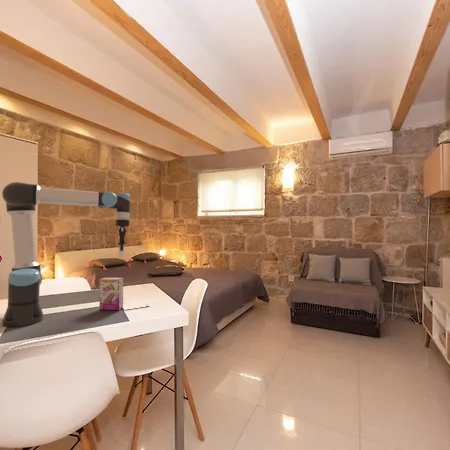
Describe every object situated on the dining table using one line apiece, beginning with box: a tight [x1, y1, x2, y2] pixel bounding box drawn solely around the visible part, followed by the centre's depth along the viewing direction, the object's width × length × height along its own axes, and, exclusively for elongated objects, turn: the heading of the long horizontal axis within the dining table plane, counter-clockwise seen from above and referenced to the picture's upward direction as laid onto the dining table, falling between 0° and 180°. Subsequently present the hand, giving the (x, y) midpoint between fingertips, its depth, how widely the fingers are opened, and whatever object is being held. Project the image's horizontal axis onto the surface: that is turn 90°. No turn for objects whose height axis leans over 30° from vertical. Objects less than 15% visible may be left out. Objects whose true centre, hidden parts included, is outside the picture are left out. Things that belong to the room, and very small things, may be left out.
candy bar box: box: [98, 277, 124, 311], centre depth 146 cm, size 11×5×16 cm, turn 84°
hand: (121, 255), depth 161 cm, fingers open, 13 cm apart
